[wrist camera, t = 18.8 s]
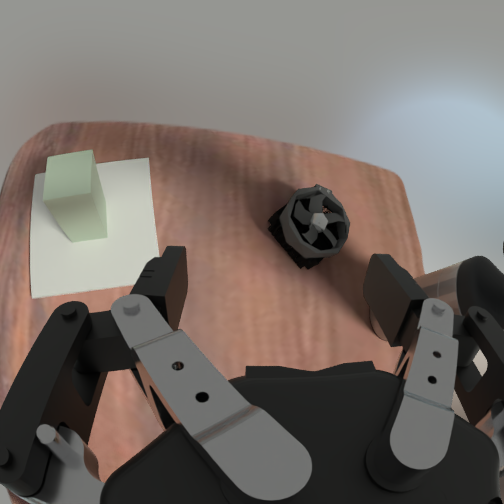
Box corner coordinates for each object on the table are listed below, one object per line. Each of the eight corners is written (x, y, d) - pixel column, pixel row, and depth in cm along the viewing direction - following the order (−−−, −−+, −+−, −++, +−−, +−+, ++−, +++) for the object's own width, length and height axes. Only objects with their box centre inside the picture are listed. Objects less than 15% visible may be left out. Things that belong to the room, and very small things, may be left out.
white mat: (148, 159, 40) (148, 157, 39) (162, 280, 36) (163, 279, 35) (36, 176, 33) (35, 174, 33) (33, 298, 29) (31, 298, 29)
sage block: (106, 202, 35) (92, 149, 25) (107, 237, 34) (90, 192, 23) (72, 207, 34) (47, 157, 23) (72, 242, 32) (42, 200, 22)
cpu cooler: (323, 269, 37) (272, 207, 37) (302, 279, 42) (257, 224, 42) (362, 227, 41) (319, 173, 42) (341, 239, 46) (301, 191, 47)
